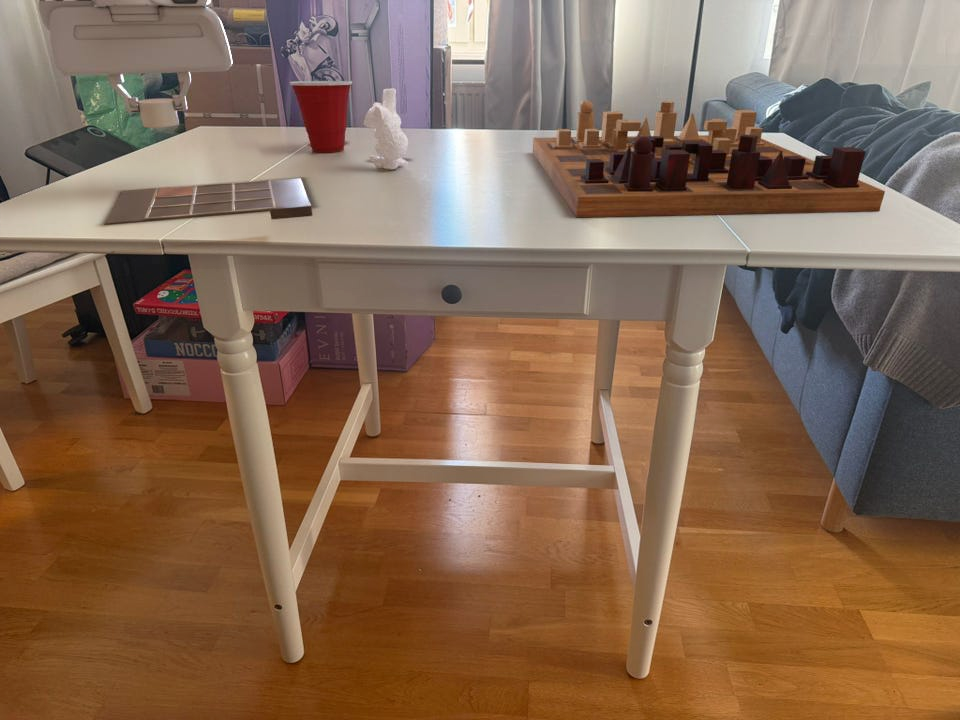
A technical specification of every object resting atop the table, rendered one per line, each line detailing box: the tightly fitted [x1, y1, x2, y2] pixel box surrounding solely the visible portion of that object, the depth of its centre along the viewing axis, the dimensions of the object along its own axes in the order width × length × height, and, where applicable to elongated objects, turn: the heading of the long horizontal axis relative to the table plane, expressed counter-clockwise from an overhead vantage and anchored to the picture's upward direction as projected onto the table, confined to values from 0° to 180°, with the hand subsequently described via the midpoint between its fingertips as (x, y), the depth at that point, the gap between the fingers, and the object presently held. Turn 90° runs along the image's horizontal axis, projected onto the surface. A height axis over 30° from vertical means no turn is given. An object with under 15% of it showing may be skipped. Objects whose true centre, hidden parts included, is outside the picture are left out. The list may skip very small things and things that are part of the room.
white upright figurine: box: [362, 87, 409, 171], centre depth 108 cm, size 8×7×12 cm
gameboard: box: [532, 100, 886, 218], centre depth 102 cm, size 40×40×9 cm
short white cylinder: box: [138, 97, 180, 129], centre depth 87 cm, size 4×4×3 cm
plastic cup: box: [289, 80, 353, 154], centre depth 121 cm, size 11×11×12 cm
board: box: [103, 177, 313, 226], centre depth 89 cm, size 24×16×1 cm, turn 108°
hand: (158, 111), depth 87 cm, fingers closed on short white cylinder, 4 cm apart
